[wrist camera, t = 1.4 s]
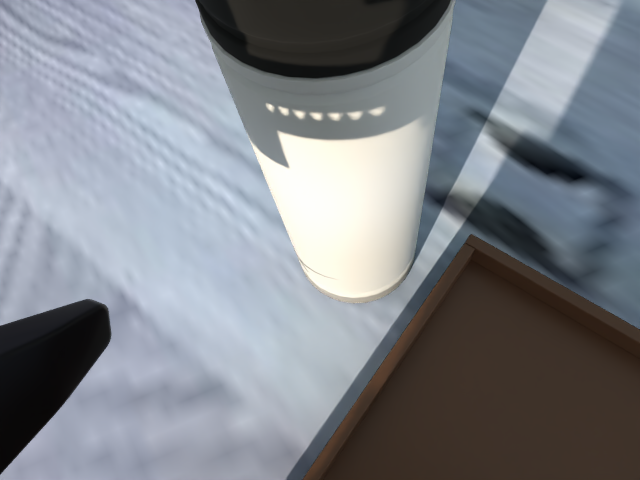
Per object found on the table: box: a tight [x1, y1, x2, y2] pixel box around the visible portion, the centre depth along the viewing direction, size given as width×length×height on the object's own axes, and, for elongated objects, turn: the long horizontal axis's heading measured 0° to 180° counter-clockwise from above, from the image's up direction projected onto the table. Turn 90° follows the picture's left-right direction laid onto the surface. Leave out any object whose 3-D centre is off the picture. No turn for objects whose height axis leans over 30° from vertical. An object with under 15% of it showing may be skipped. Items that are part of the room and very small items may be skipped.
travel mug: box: [195, 0, 456, 303], centre depth 18 cm, size 6×7×20 cm
